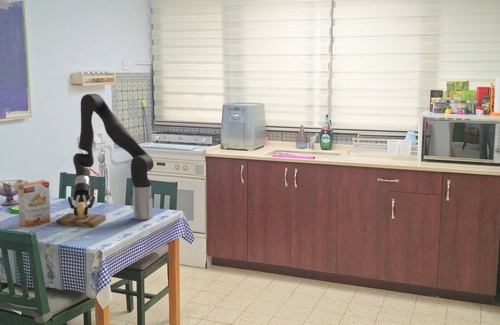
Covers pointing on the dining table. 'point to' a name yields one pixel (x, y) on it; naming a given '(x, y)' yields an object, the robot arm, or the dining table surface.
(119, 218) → the dining table surface
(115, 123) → the robot arm
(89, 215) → the walnut pocket board
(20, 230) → the dining table surface
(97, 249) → the dining table surface
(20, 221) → the cracker box
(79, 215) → the ochre peg
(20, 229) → the dining table surface
